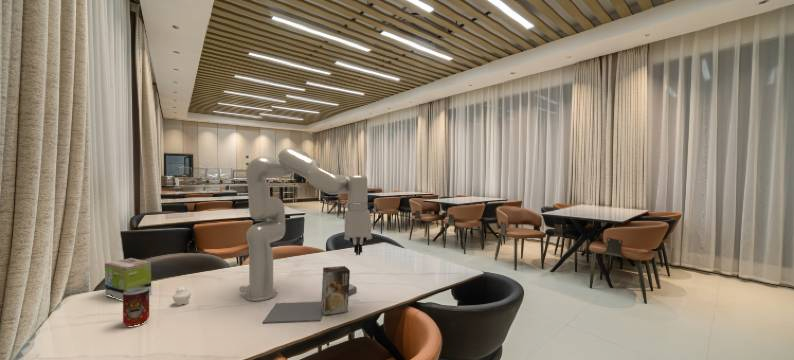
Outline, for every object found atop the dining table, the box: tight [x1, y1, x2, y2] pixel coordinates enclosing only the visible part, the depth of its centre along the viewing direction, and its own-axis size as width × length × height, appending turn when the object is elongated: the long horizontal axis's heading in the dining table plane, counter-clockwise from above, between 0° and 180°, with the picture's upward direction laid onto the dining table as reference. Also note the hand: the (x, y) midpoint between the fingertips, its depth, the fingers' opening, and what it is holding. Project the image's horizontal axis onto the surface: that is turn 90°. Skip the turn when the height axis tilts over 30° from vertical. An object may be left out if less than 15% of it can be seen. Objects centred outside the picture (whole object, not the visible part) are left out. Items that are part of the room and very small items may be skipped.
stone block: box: [349, 283, 358, 297], centre depth 135 cm, size 12×5×10 cm
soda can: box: [122, 286, 150, 327], centre depth 108 cm, size 7×7×12 cm
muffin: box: [172, 286, 192, 306], centre depth 124 cm, size 6×6×7 cm
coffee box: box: [320, 265, 351, 316], centre depth 118 cm, size 9×6×16 cm
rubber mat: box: [262, 301, 324, 324], centre depth 117 cm, size 20×16×1 cm
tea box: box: [104, 257, 152, 300], centre depth 132 cm, size 15×10×15 cm, turn 68°
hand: (358, 254), depth 119 cm, fingers closed
